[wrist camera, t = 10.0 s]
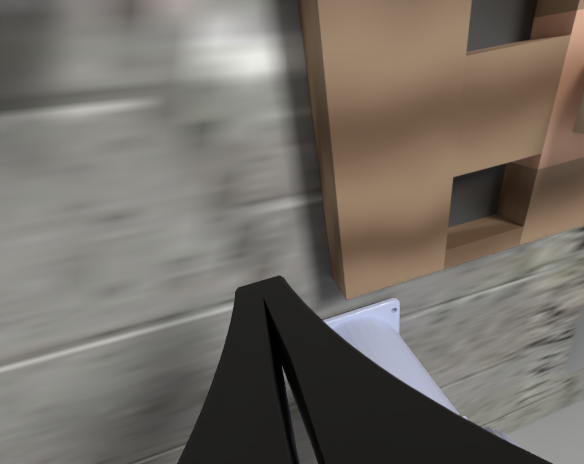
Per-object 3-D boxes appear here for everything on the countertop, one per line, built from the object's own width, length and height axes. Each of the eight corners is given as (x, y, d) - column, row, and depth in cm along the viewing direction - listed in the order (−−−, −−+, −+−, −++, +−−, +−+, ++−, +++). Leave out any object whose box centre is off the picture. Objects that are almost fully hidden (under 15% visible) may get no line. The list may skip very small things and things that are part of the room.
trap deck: (585, 200, 25) (621, 212, 22) (332, 277, 21) (346, 299, 19) (702, -141, 15) (784, -176, 13) (286, -95, 12) (305, -132, 10)
